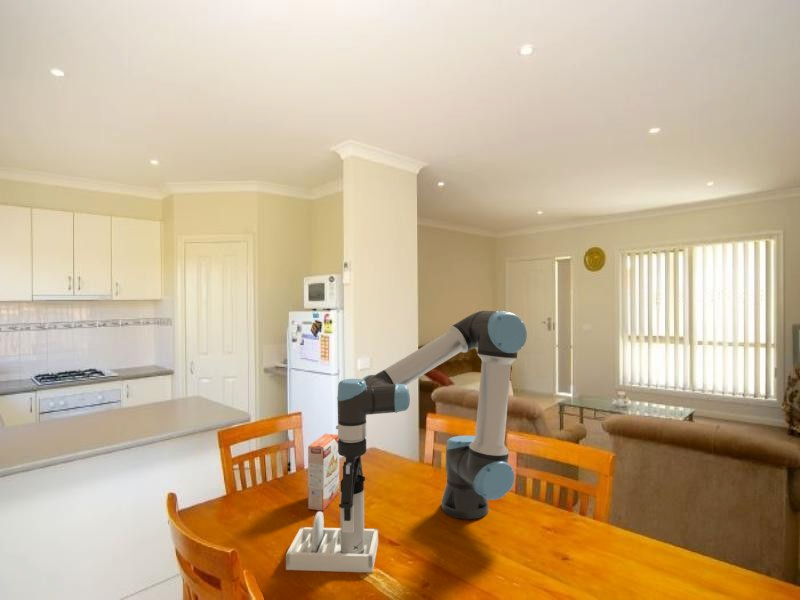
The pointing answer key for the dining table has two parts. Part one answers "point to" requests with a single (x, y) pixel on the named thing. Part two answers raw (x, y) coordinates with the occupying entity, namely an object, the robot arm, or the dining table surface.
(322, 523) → the rack
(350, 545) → the travel mug
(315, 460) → the cracker box
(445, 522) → the dining table surface
